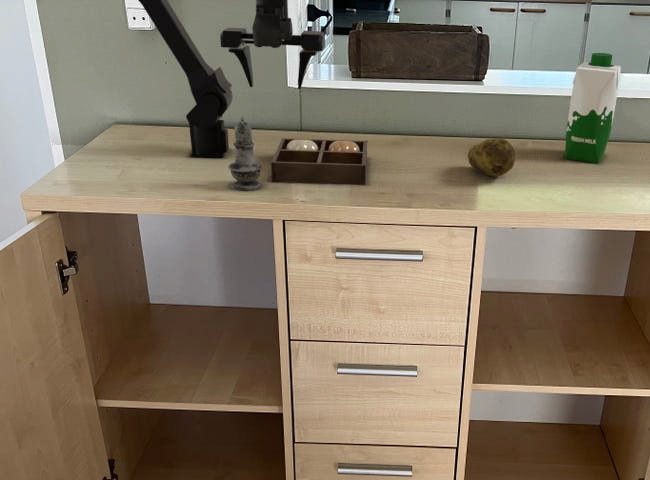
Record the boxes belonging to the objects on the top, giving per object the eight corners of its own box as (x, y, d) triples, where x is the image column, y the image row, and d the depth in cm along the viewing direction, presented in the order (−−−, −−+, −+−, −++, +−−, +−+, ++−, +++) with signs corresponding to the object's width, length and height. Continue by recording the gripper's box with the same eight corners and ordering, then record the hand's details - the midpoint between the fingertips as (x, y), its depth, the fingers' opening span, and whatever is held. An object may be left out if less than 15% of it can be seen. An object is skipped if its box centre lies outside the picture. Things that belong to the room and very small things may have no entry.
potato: (507, 168, 150) (512, 127, 146) (514, 188, 139) (519, 144, 135) (465, 166, 150) (469, 125, 146) (469, 186, 139) (473, 142, 135)
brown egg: (327, 166, 147) (326, 143, 144) (328, 160, 150) (328, 137, 148) (360, 167, 147) (360, 145, 145) (360, 161, 151) (360, 139, 148)
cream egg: (284, 165, 146) (284, 142, 144) (287, 159, 150) (286, 136, 148) (318, 166, 147) (317, 143, 144) (319, 160, 150) (319, 137, 148)
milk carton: (608, 154, 162) (626, 55, 152) (601, 165, 154) (619, 61, 144) (567, 149, 164) (582, 50, 154) (559, 159, 157) (574, 56, 147)
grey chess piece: (267, 182, 137) (263, 114, 131) (258, 192, 132) (254, 122, 126) (235, 179, 137) (230, 112, 131) (225, 190, 132) (219, 119, 126)
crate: (272, 181, 137) (271, 162, 136) (282, 155, 152) (281, 138, 150) (365, 184, 138) (365, 165, 136) (366, 158, 153) (367, 140, 151)
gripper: (209, 0, 130) (217, 94, 138) (318, 4, 131) (319, 98, 139) (223, -6, 140) (230, 82, 148) (324, -2, 140) (325, 86, 148)
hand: (275, 87), depth 145 cm, fingers open, 9 cm apart
